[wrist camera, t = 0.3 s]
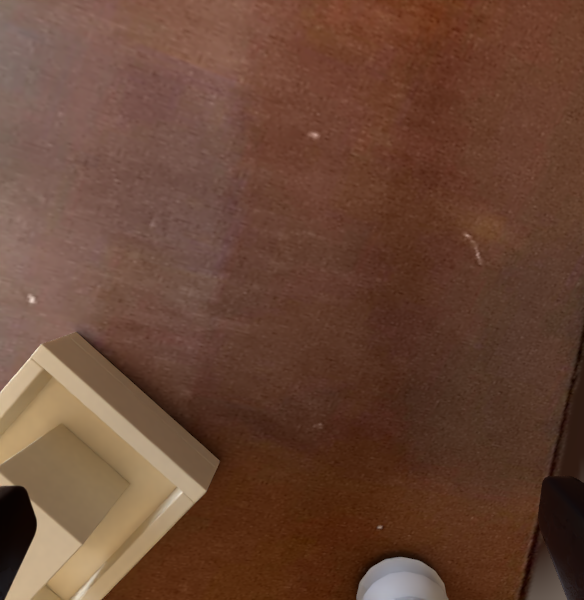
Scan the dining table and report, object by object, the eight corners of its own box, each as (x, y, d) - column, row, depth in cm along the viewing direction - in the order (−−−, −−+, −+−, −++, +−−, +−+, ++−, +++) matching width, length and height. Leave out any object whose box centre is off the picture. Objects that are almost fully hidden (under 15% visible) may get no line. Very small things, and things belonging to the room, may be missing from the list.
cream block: (74, 544, 22) (13, 619, 18) (5, 485, 22) (-74, 545, 17) (131, 483, 21) (82, 544, 17) (61, 422, 21) (-6, 468, 17)
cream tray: (77, 609, 23) (44, 658, 21) (-62, 490, 23) (-113, 523, 20) (220, 460, 22) (207, 491, 19) (76, 331, 22) (41, 343, 19)
